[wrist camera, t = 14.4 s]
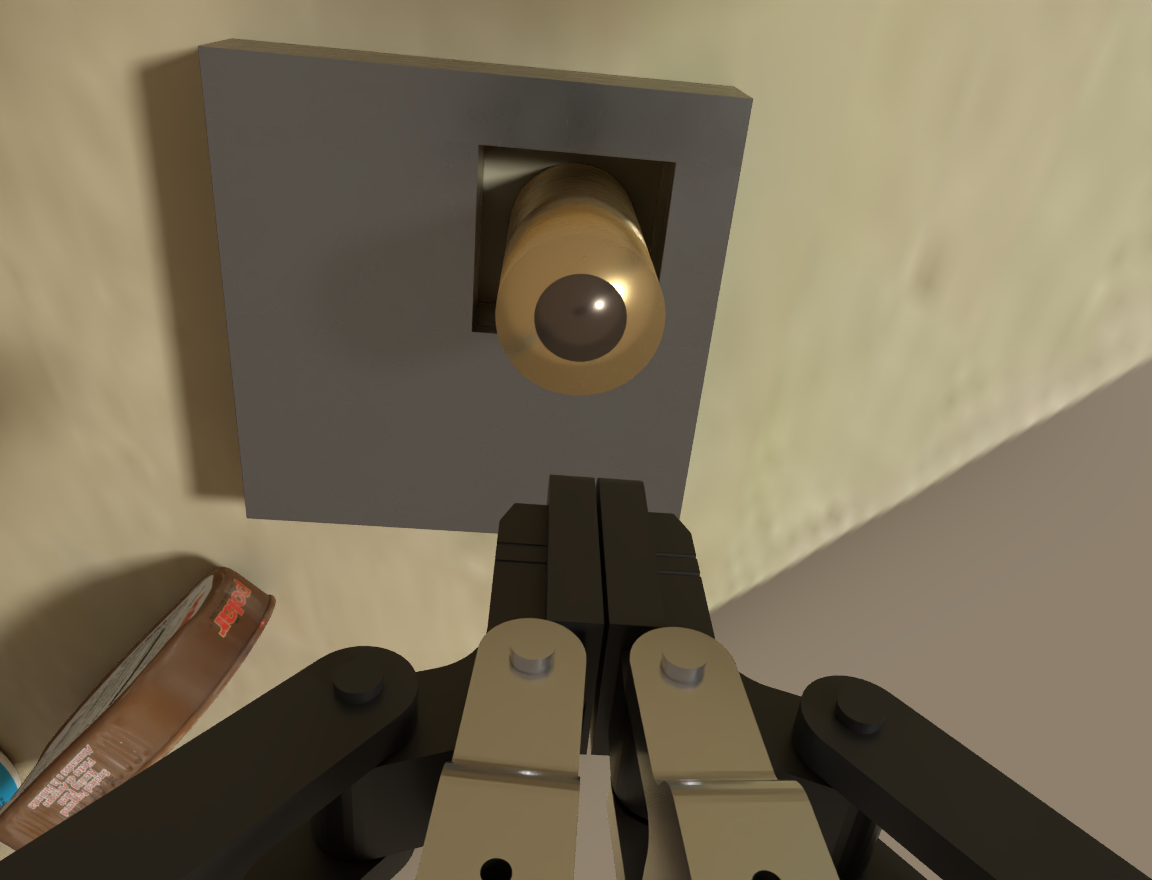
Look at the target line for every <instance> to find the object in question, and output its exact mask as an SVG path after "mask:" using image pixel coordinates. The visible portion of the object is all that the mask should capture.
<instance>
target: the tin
mask: <svg viewBox="0 0 1152 880" xmlns="http://www.w3.org/2000/svg"><path fill="white" fill-rule="evenodd" d="M275 603H276V600H275V597H274V596H272V595H267V594H266V593H264V592H263V591H261V590H260V589H259V588H257V587H256V586H255V585H253V584H252V583H251V582H249V581H248V580H246V579H245V578H244V577H242V576H241V575H240V574H238V573H237V572H235V571H233V570H231V569H229V568H226V567H219V568H216V569H215V570H213V571H212V572H210V573H209V574H208V575H207V576H206V577H205V578H203V579H202V580H201V581H200V582H199V583H198V584H197V585H196V586H195V587H194V588H193V589H192V590H191V591H190V592H189V593H188V594H187V595H186V596H185V597H184V598H183V599H182V600H181V601H180V602H179V603H178V604H177V605H176V606H175V607H174V608H173V609H172V610H171V611H170V612H169V613H168V614H167V615H166V616H165V617H164V618H163V619H162V620H161V621H160V622H159V623H157V624H156V625H155V626H154V627H153V628H152V629H151V630H150V631H149V632H148V633H147V634H146V635H145V636H144V637H143V638H142V639H141V640H140V641H139V642H138V643H137V644H136V646H135V647H134V648H133V649H132V650H131V651H130V652H129V653H128V654H127V655H126V656H125V657H124V658H123V659H122V660H121V661H120V662H119V663H118V664H117V665H116V666H115V668H114V669H113V670H112V671H111V672H110V673H109V674H108V675H107V676H106V677H105V678H104V679H103V680H102V681H101V683H100V684H99V685H98V686H97V687H96V688H95V689H94V690H93V691H92V692H91V694H90V695H89V696H88V697H87V698H86V699H85V700H84V701H83V703H82V704H81V705H80V706H79V707H78V708H77V709H76V711H75V712H74V713H73V714H72V715H71V716H70V718H69V719H68V720H67V721H66V722H65V723H64V725H63V726H62V727H61V728H60V729H59V731H58V732H57V733H56V734H55V736H54V737H53V738H52V739H51V741H50V742H49V743H48V745H47V746H46V748H45V749H44V751H43V752H42V754H41V756H40V758H39V761H38V763H37V764H36V766H35V767H34V768H33V770H32V771H31V773H30V774H29V775H28V777H27V778H26V779H25V781H24V782H23V783H22V785H21V786H20V787H19V789H18V790H17V791H16V792H15V794H14V795H13V796H12V798H11V799H10V800H9V801H8V802H6V803H5V804H4V805H3V806H1V807H0V842H2V843H4V844H6V845H7V846H9V847H11V848H12V849H14V850H16V851H17V850H18V849H20V848H22V847H23V846H25V845H26V844H28V843H29V842H31V841H33V840H34V839H36V838H37V837H39V836H40V835H42V834H44V833H45V832H47V831H48V830H50V829H52V828H53V827H55V826H56V825H58V824H59V823H61V822H63V821H64V820H66V819H67V818H69V817H71V816H72V815H74V814H75V813H77V812H78V811H80V810H82V809H83V808H85V807H86V806H88V805H90V804H91V803H93V802H94V801H96V800H97V799H99V798H101V797H102V796H104V795H105V794H107V793H109V792H110V791H112V790H113V789H115V788H116V787H118V786H120V785H121V784H123V783H124V782H126V781H127V780H129V779H131V778H132V777H134V776H135V775H137V774H139V773H140V772H142V771H143V770H145V769H146V768H148V767H150V766H151V765H153V764H154V763H156V762H158V761H159V760H161V759H162V758H164V757H165V756H166V755H167V754H168V753H169V752H170V751H171V750H172V749H173V747H174V746H175V745H176V744H177V743H178V742H179V741H180V740H181V739H182V737H183V736H184V735H185V734H186V733H187V732H188V731H189V730H190V729H191V728H192V726H193V725H194V724H195V723H196V722H197V720H198V719H199V718H200V717H201V716H202V714H203V713H204V712H205V711H206V710H207V709H208V707H209V706H210V705H211V704H212V702H213V701H214V700H215V699H216V698H217V696H218V695H219V694H220V692H221V691H222V690H223V689H224V687H225V686H226V685H227V683H228V682H229V681H230V679H231V678H232V676H233V675H234V673H235V672H236V671H237V670H238V668H239V667H240V666H241V664H242V662H243V661H244V660H245V658H246V657H247V655H248V654H249V652H250V651H251V649H252V647H253V646H254V644H255V643H256V641H257V639H258V638H259V636H260V635H261V634H262V631H263V630H264V628H265V626H266V624H267V622H268V621H269V619H270V617H271V614H272V612H273V609H274V606H275Z"/></svg>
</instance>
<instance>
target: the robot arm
mask: <svg viewBox="0 0 1152 880" xmlns="http://www.w3.org/2000/svg"><path fill="white" fill-rule="evenodd" d="M589 731H590V737H591V755H609V756H610V771H611V777H610V783H609V790H608V796H607V814H608V821H609V828H610V835H611V842H612V849H613V857H614V864H615V871H616V878H617V880H927V879H926V878H925V877H924V876H922V875H921V874H920V873H919V872H918V871H916V870H915V869H914V868H913V867H912V866H911V865H909V864H908V863H907V862H906V861H905V860H903V859H902V858H901V857H900V856H899V855H898V854H896V853H895V852H894V851H893V850H892V849H891V848H889V847H888V846H887V845H886V844H885V843H883V842H882V841H881V840H880V839H879V838H878V837H879V835H880V832H881V830H882V829H883V830H884V831H885V832H887V833H888V834H889V835H890V836H891V837H892V838H894V839H895V840H896V841H897V842H899V843H900V844H901V845H902V846H903V847H904V848H906V849H907V850H908V851H909V852H910V853H912V854H913V855H914V856H915V857H916V858H918V859H919V860H920V861H921V862H922V863H924V864H925V865H926V866H927V867H928V868H929V869H931V870H932V871H933V872H934V873H936V874H937V875H938V876H939V877H940V878H941V879H943V880H1152V879H1151V878H1149V877H1148V876H1146V875H1145V874H1144V873H1142V872H1141V871H1139V870H1138V869H1136V868H1135V867H1134V866H1132V865H1131V864H1130V863H1128V862H1127V861H1125V860H1124V859H1122V858H1121V857H1120V856H1118V855H1117V854H1115V853H1114V852H1113V851H1111V850H1110V849H1108V848H1107V847H1105V846H1104V845H1103V844H1101V843H1100V842H1098V841H1097V840H1096V839H1094V838H1093V837H1091V836H1090V835H1089V834H1087V833H1086V832H1085V831H1083V830H1082V829H1080V828H1079V827H1078V826H1076V825H1075V824H1073V823H1072V822H1071V821H1069V820H1068V819H1066V818H1065V817H1063V816H1062V815H1061V814H1059V813H1058V812H1056V811H1055V810H1054V809H1052V808H1050V807H1049V806H1048V805H1047V804H1045V803H1044V802H1042V801H1041V800H1039V799H1038V798H1037V797H1035V796H1034V795H1033V794H1031V793H1030V792H1028V791H1027V790H1025V789H1024V788H1022V787H1021V786H1020V785H1018V784H1017V783H1016V782H1014V781H1013V780H1011V779H1010V778H1009V777H1007V776H1006V775H1004V774H1003V773H1002V772H1000V771H999V770H997V769H996V768H995V767H993V766H992V765H990V764H989V763H988V762H986V761H985V760H983V759H982V758H981V757H979V756H978V755H976V754H975V753H974V752H972V751H971V750H969V749H968V748H966V747H965V746H964V745H962V744H961V743H960V742H958V741H957V740H955V739H954V738H952V737H951V736H950V735H948V734H947V733H945V732H944V731H943V730H941V729H940V728H938V727H937V726H936V725H934V724H933V723H931V722H930V721H929V720H927V719H926V718H924V717H923V716H921V715H920V714H919V713H917V712H916V711H914V710H913V709H912V708H910V707H909V706H908V705H906V704H905V703H903V702H902V701H901V700H899V699H898V698H896V697H895V696H893V695H892V694H891V693H889V692H888V691H886V690H884V689H883V688H881V687H879V686H877V685H875V684H873V683H871V682H868V681H865V680H863V679H858V678H855V677H849V676H827V677H823V678H820V679H817V680H815V681H814V682H812V683H811V684H810V685H808V686H807V688H806V689H805V690H804V692H803V695H802V697H801V696H798V695H794V694H791V693H788V692H784V691H781V690H778V689H775V688H771V687H768V686H765V685H763V684H760V683H758V682H755V681H753V680H751V679H749V678H748V677H746V676H744V675H743V674H741V673H740V672H739V671H738V669H737V666H736V663H735V661H734V659H733V657H732V655H731V654H730V653H729V651H728V650H727V649H726V648H725V647H724V646H723V645H722V644H721V643H719V642H718V641H717V640H715V637H714V632H713V628H712V624H711V619H710V614H709V610H708V606H707V601H706V597H705V592H704V588H703V584H702V579H701V577H700V570H699V566H698V562H697V559H696V553H695V548H694V544H693V540H692V535H691V533H690V532H689V530H688V529H687V528H686V527H685V526H684V525H683V524H682V522H681V521H680V520H679V519H678V518H677V517H676V516H675V514H672V513H657V512H648V507H647V501H646V494H645V488H644V483H643V481H639V480H625V479H610V478H597V482H596V487H595V478H594V477H580V476H566V475H552V474H550V475H549V483H548V494H547V505H538V504H524V503H514V504H513V506H512V507H511V508H510V509H509V510H508V511H507V512H506V514H505V515H504V516H503V517H502V518H501V519H500V521H499V529H498V538H497V547H496V556H495V565H494V574H493V583H492V592H491V602H490V611H489V620H488V628H487V632H486V635H485V636H484V637H483V639H482V640H481V642H480V644H479V647H478V648H476V649H475V650H474V651H473V652H472V653H471V654H469V655H468V656H467V657H465V658H463V659H461V660H459V661H458V662H455V663H453V664H450V665H447V666H443V667H439V668H435V669H430V670H424V671H419V672H415V671H414V668H413V667H412V666H411V664H410V663H409V662H408V661H407V660H406V659H405V658H403V657H402V656H401V655H399V654H397V653H395V652H393V651H390V650H388V649H384V648H380V647H372V646H357V647H349V648H345V649H341V650H338V651H335V652H332V653H330V654H328V655H326V656H324V657H322V658H320V659H319V660H317V661H316V662H314V663H313V664H311V665H309V666H308V667H306V668H305V669H303V670H301V671H300V672H298V673H297V674H295V675H294V676H292V677H290V678H289V679H287V680H286V681H284V682H282V683H281V684H279V685H278V686H276V687H275V688H273V689H271V690H270V691H268V692H267V693H265V694H264V695H262V696H260V697H259V698H257V699H256V700H254V701H252V702H251V703H249V704H248V705H246V706H245V707H243V708H241V709H240V710H238V711H237V712H235V713H233V714H232V715H230V716H229V717H227V718H226V719H224V720H222V721H221V722H219V723H218V724H216V725H214V726H213V727H211V728H210V729H208V730H207V731H205V732H203V733H202V734H200V735H199V736H197V737H195V738H194V739H192V740H191V741H189V742H188V743H186V744H184V745H183V746H181V747H180V748H178V749H177V750H175V751H173V752H172V753H170V754H169V755H167V756H165V757H164V758H162V759H161V760H159V761H158V762H156V763H154V764H153V765H151V766H150V767H148V768H146V769H145V770H143V771H142V772H140V773H139V774H137V775H135V776H134V777H132V778H131V779H129V780H127V781H126V782H124V783H123V784H121V785H120V786H118V787H116V788H115V789H113V790H112V791H110V792H109V793H107V794H105V795H104V796H102V797H101V798H99V799H97V800H96V801H94V802H93V803H91V804H90V805H88V806H86V807H85V808H83V809H82V810H80V811H78V812H77V813H75V814H74V815H72V816H71V817H69V818H67V819H66V820H64V821H63V822H61V823H59V824H58V825H56V826H55V827H53V828H52V829H50V830H48V831H47V832H45V833H44V834H42V835H40V836H39V837H37V838H36V839H34V840H33V841H31V842H29V843H28V844H26V845H25V846H23V847H22V848H20V849H18V850H17V851H15V852H14V853H12V854H10V855H9V856H7V857H6V858H4V859H3V860H1V861H0V880H390V879H391V878H393V877H394V876H395V875H396V874H397V873H398V872H399V871H400V870H401V869H402V868H403V867H404V866H405V865H406V863H407V862H408V861H409V859H410V857H411V856H412V854H413V851H414V849H415V848H419V847H422V846H423V850H422V854H421V858H420V863H419V867H418V871H417V875H416V879H415V880H574V866H575V852H576V836H577V822H578V806H579V791H580V777H579V776H578V771H579V757H580V754H586V753H587V746H588V738H589Z"/></svg>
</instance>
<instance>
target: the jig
mask: <svg viewBox="0 0 1152 880" xmlns="http://www.w3.org/2000/svg"><path fill="white" fill-rule="evenodd" d="M198 51H199V61H200V70H201V80H202V90H203V99H204V109H205V119H206V128H207V138H208V148H209V157H210V167H211V177H212V186H213V196H214V206H215V215H216V225H217V235H218V244H219V254H220V264H221V274H222V283H223V293H224V303H225V312H226V322H227V332H228V341H229V351H230V361H231V370H232V380H233V390H234V399H235V409H236V419H237V428H238V438H239V448H240V457H241V467H242V477H243V486H244V496H245V506H246V516H247V518H253V519H269V520H285V521H302V522H318V523H334V524H351V525H367V526H383V527H399V528H416V529H432V530H448V531H465V532H481V533H497V534H498V529H499V521H500V519H501V518H502V517H503V516H504V515H505V514H506V512H507V511H508V510H509V509H510V508H511V507H512V506H513V504H514V503H524V504H538V505H547V494H548V483H549V475H550V474H552V475H566V476H580V477H594V478H595V487H596V482H597V478H610V479H625V480H639V481H643V483H644V488H645V494H646V501H647V507H648V512H657V513H672V514H675V516H676V517H677V518H678V519H680V513H681V507H682V502H683V496H684V490H685V484H686V479H687V473H688V467H689V462H690V456H691V450H692V444H693V439H694V433H695V427H696V422H697V416H698V410H699V405H700V399H701V393H702V387H703V382H704V376H705V370H706V365H707V359H708V353H709V347H710V342H711V336H712V330H713V325H714V319H715V313H716V308H717V302H718V296H719V290H720V285H721V279H722V273H723V268H724V262H725V256H726V250H727V245H728V239H729V233H730V228H731V222H732V216H733V211H734V205H735V199H736V193H737V188H738V182H739V176H740V171H741V165H742V159H743V153H744V148H745V142H746V136H747V131H748V125H749V119H750V114H751V108H752V102H753V98H751V97H750V96H748V95H746V94H745V93H743V92H742V91H740V90H739V89H737V88H736V87H732V86H722V85H711V84H701V83H690V82H680V81H670V80H659V79H649V78H638V77H628V76H617V75H607V74H597V73H586V72H576V71H565V70H555V69H545V68H534V67H524V66H513V65H503V64H492V63H482V62H472V61H461V60H451V59H440V58H430V57H419V56H409V55H399V54H388V53H378V52H367V51H357V50H347V49H336V48H326V47H315V46H305V45H294V44H284V43H274V42H263V41H253V40H242V39H228V40H223V41H218V42H214V43H209V44H205V45H200V46H198ZM485 145H488V146H500V147H511V148H522V149H533V150H544V151H555V152H566V153H577V154H589V155H600V156H611V157H622V158H633V159H644V160H655V161H663V164H662V171H661V179H660V186H659V194H658V201H657V209H656V216H655V224H654V231H653V239H652V246H651V254H650V258H651V261H652V264H653V267H654V269H655V272H656V275H657V278H658V281H659V284H660V287H661V290H662V293H663V297H664V302H665V313H666V316H665V327H664V331H663V336H662V338H661V341H660V344H659V346H658V348H657V350H656V352H655V354H654V356H653V357H652V358H651V360H650V361H649V363H648V364H647V365H646V366H645V367H644V368H643V369H642V371H641V372H639V373H638V374H637V375H636V376H635V377H634V378H632V379H631V380H629V381H628V382H626V383H625V384H623V385H621V386H619V387H617V388H615V389H612V390H609V391H606V392H603V393H599V394H594V395H585V396H573V395H565V394H560V393H556V392H552V391H550V390H547V389H545V388H542V387H540V386H538V385H537V384H535V383H533V382H531V381H530V380H529V379H527V378H526V377H524V376H523V375H522V374H521V373H520V372H519V371H518V370H517V369H516V368H515V367H514V365H513V364H512V363H511V362H510V360H509V359H508V357H507V356H506V354H505V352H504V350H503V348H502V346H501V344H500V341H499V337H498V334H497V329H496V320H495V311H496V303H489V302H478V297H479V272H480V247H481V222H482V197H483V172H484V147H485Z"/></svg>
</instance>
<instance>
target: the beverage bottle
mask: <svg viewBox="0 0 1152 880" xmlns="http://www.w3.org/2000/svg"><path fill="white" fill-rule="evenodd" d="M21 785H22V784H21V781H20V778H19V775H18V773H17V771H16V769H15V768H14V766H13V765H12V763H11V762H10V761H9V759H8V758H7V757H6V756H5V755H4V754H3V753H2V752H1V751H0V807H1V806H3V805H4V804H5V803H6V802H8V801H9V800H10V799H11V798H12V796H13V795H14V794H15V792H16V791H17V790H18V789H19V787H20V786H21Z"/></svg>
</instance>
